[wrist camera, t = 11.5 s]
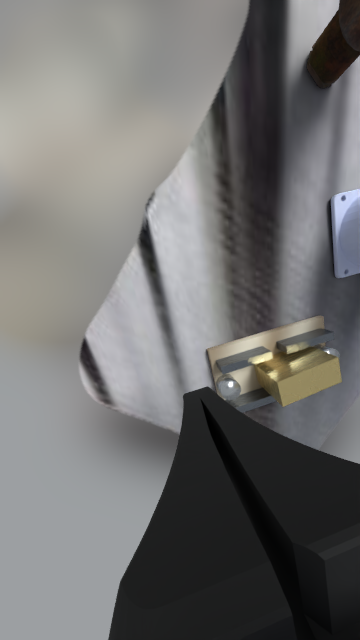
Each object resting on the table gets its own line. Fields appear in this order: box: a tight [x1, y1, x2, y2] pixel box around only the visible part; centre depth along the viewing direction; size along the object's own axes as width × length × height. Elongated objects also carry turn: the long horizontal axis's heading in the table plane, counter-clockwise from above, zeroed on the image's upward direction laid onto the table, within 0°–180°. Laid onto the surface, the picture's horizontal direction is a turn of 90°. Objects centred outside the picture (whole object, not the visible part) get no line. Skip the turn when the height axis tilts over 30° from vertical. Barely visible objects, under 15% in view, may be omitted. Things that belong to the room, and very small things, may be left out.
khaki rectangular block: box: [254, 346, 342, 407], centre depth 19 cm, size 6×3×4 cm, turn 108°
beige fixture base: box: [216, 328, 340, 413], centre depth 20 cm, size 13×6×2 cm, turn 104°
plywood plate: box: [207, 315, 326, 400], centre depth 21 cm, size 13×8×1 cm, turn 104°
